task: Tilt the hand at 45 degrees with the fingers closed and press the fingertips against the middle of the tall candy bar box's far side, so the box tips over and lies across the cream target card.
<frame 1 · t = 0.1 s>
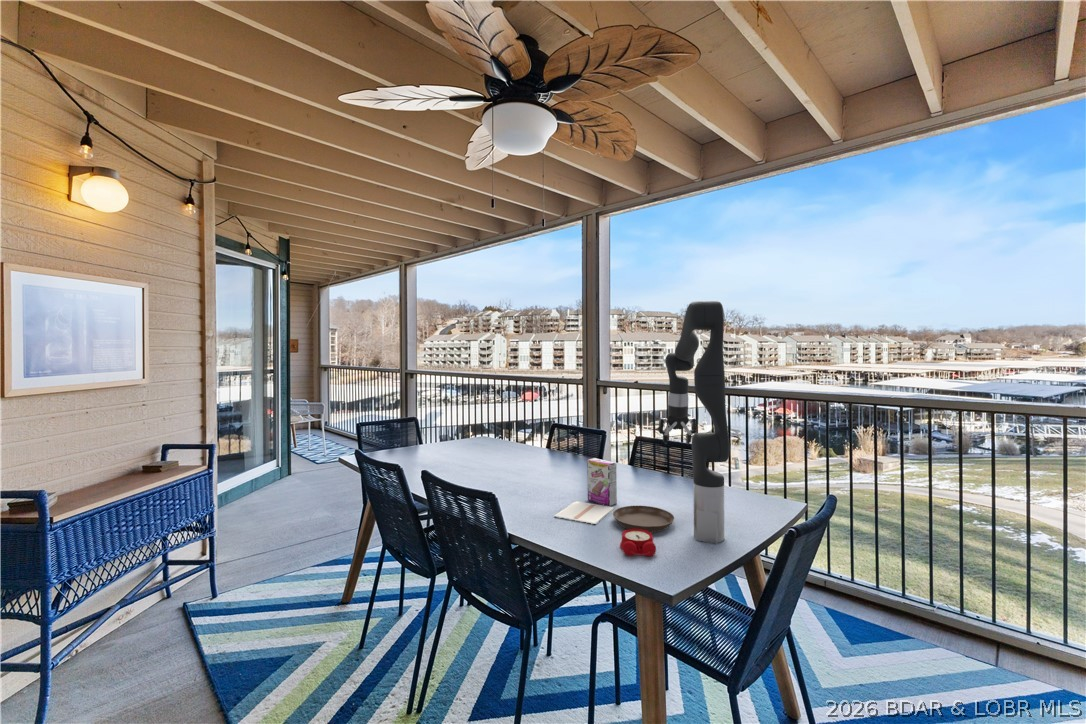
hand: (676, 443, 184), 22 cm above the table, tool pointing down, fingers open, 8 cm apart
candy bar box: (602, 502, 184), on the table
target card: (584, 513, 172), on the table
alarm clock: (638, 551, 141), on the table
plant saucer: (643, 524, 161), on the table
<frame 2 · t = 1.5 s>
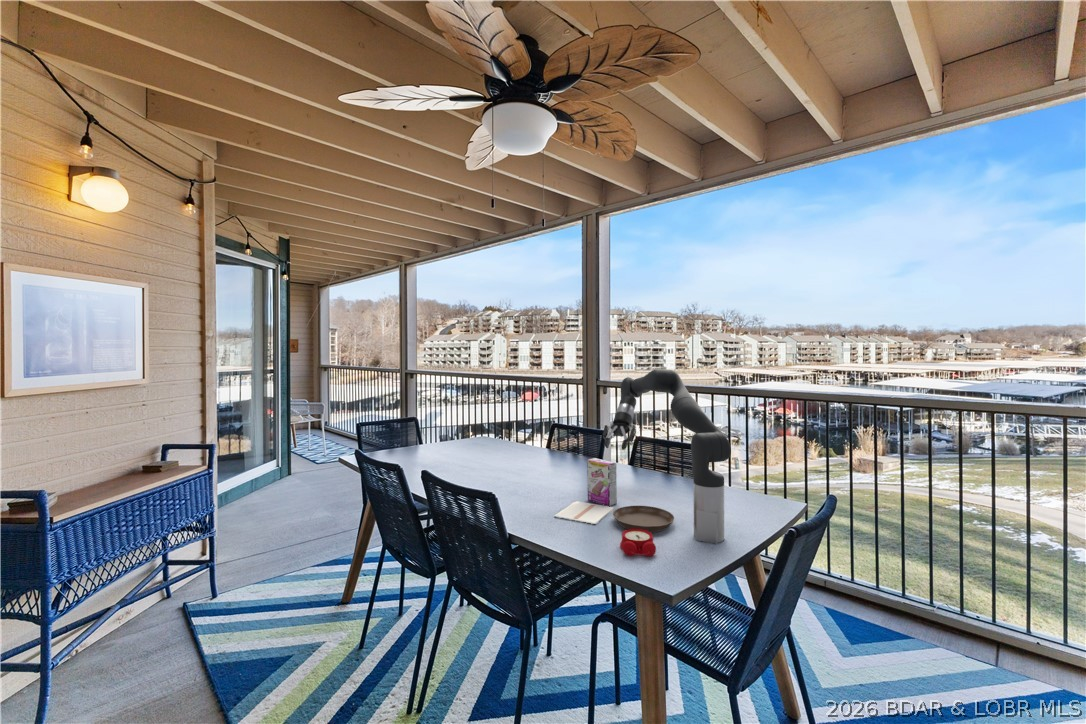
hand: (614, 447, 196), 19 cm above the table, tool tilted 45°, fingers open, 6 cm apart
nothing on the table moved.
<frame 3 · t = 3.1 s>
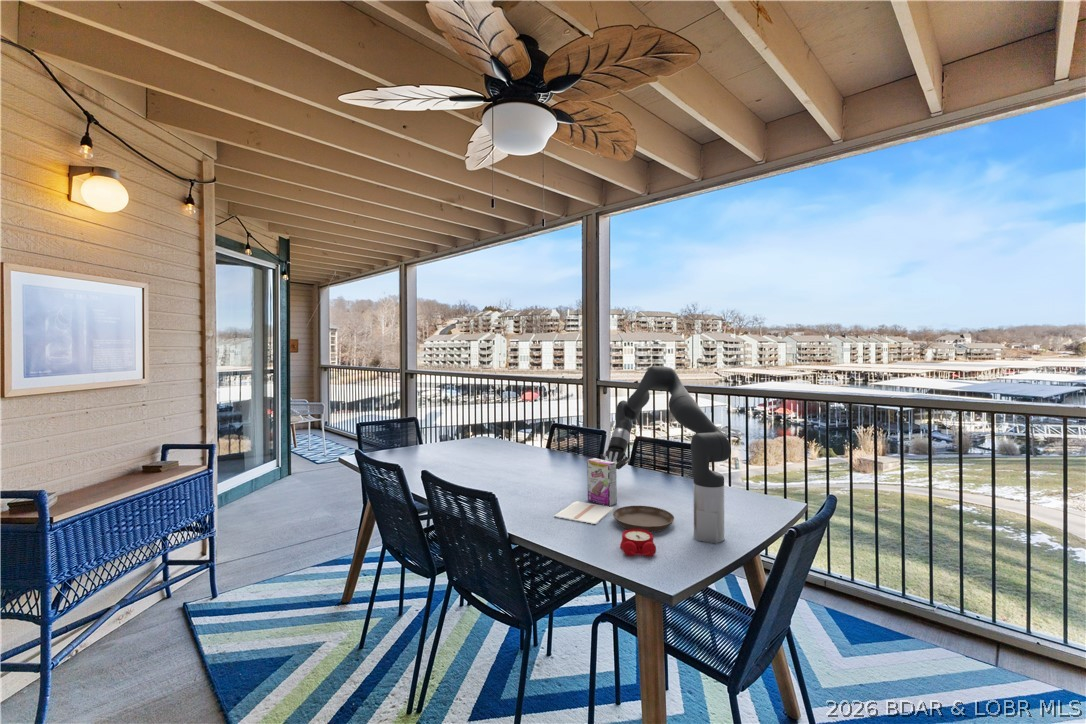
hand: (609, 476, 190), 8 cm above the table, tool tilted 45°, fingers closed
nothing on the table moved.
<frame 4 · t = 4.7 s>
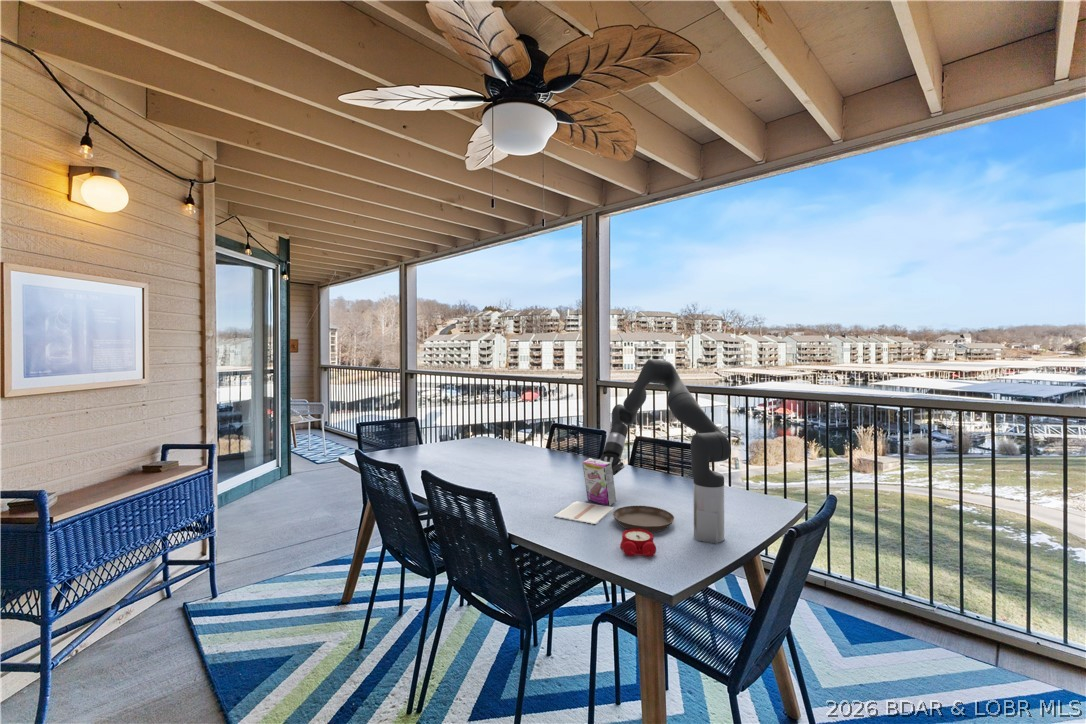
hand: (603, 482, 185), 7 cm above the table, tool tilted 45°, fingers closed
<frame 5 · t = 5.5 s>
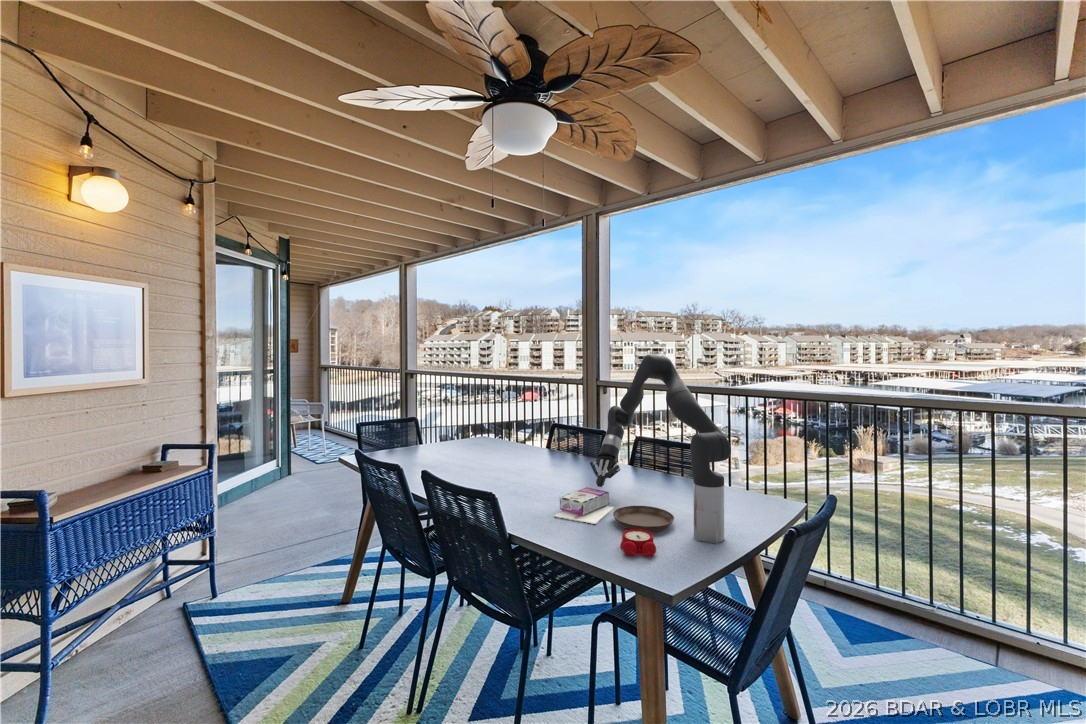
hand: (599, 485, 181), 7 cm above the table, tool tilted 45°, fingers closed
candy bar box: (598, 495, 182), point 3 cm above the table, touching target card
everything else where it was.
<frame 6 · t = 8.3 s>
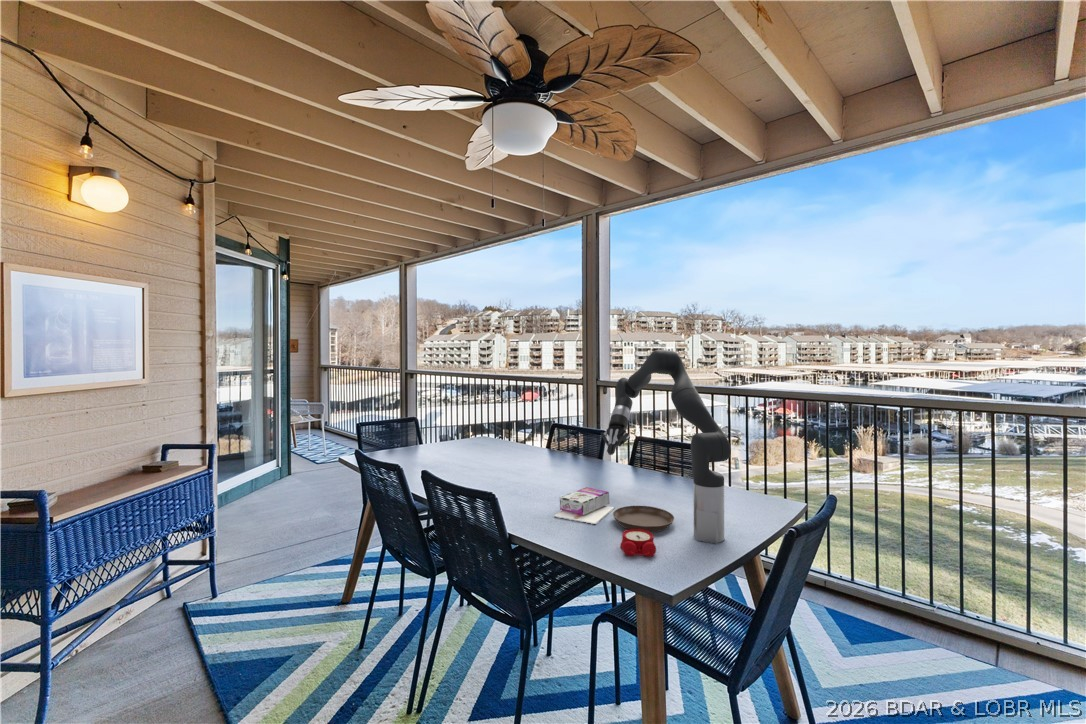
hand: (610, 453, 188), 18 cm above the table, tool tilted 45°, fingers closed
nothing on the table moved.
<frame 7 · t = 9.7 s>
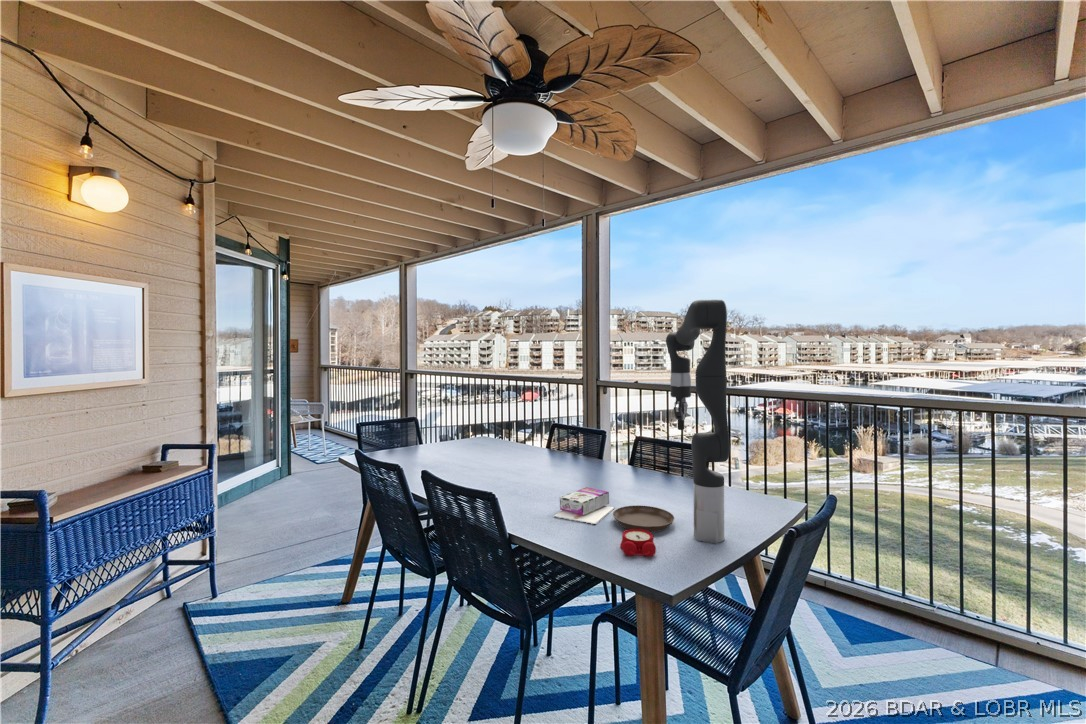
hand: (681, 429, 180), 29 cm above the table, tool pointing down, fingers closed
nothing on the table moved.
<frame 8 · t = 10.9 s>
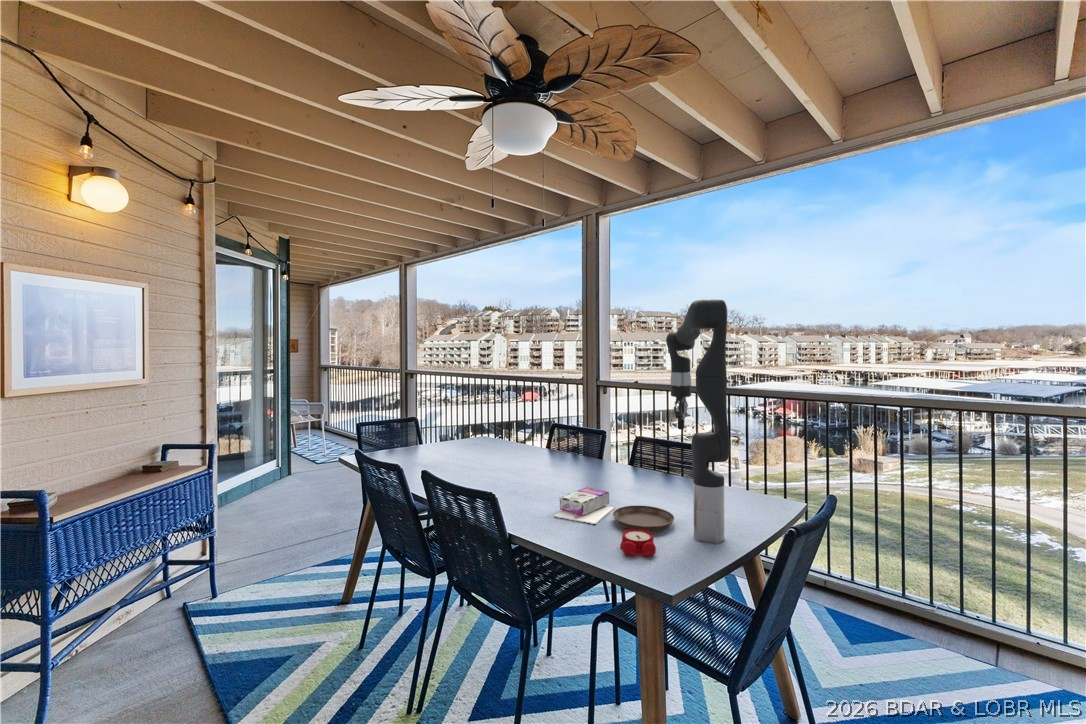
hand: (681, 429, 180), 29 cm above the table, tool pointing down, fingers closed
nothing on the table moved.
at the end: candy bar box tilted 90°; candy bar box touching target card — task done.
